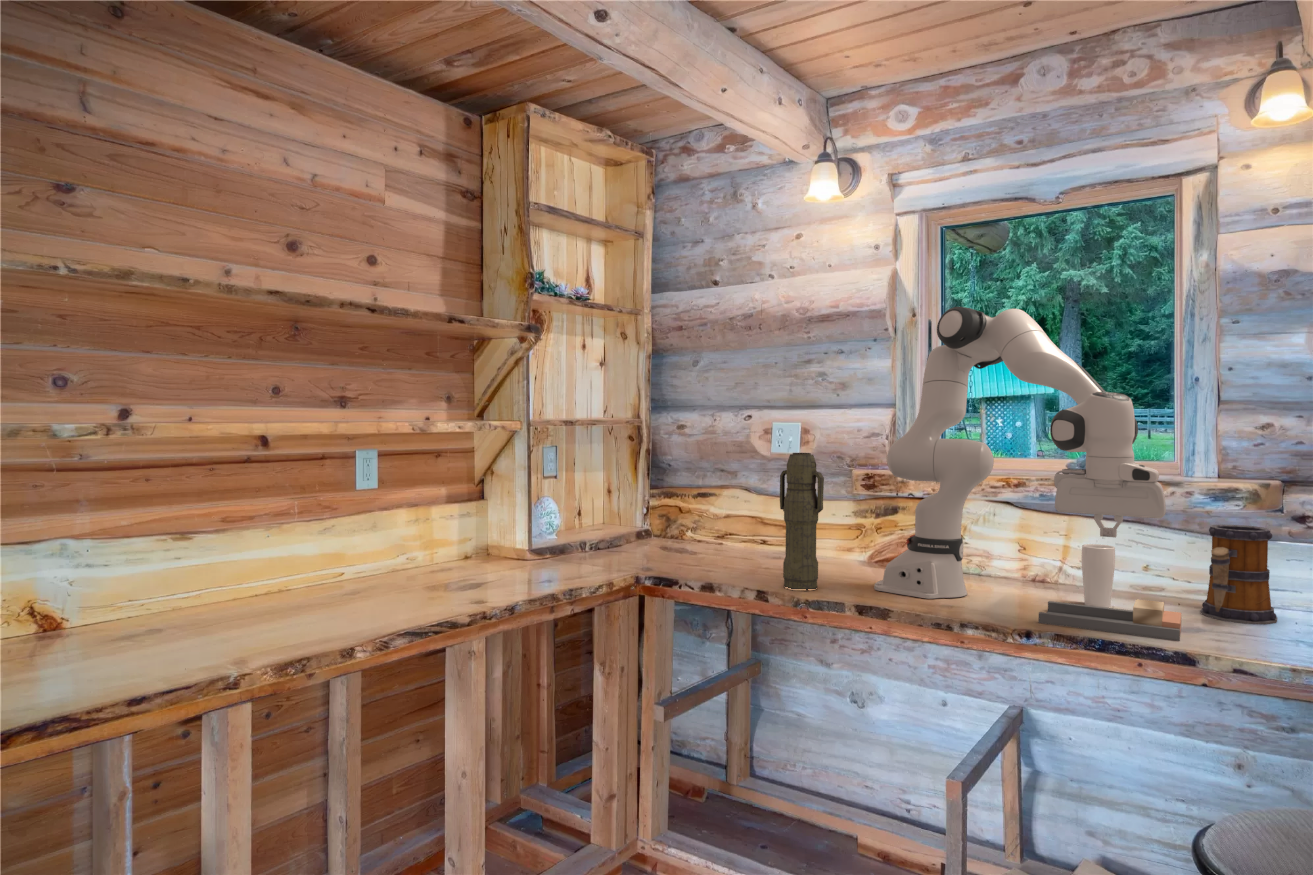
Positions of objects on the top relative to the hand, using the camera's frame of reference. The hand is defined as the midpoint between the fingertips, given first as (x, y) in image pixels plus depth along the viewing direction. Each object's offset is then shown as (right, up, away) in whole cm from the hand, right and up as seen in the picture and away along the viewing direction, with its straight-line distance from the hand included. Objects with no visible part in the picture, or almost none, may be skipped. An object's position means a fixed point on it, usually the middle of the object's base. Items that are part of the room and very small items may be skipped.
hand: (1108, 536), depth 173 cm
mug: (+34, -20, +12) cm, 41 cm away
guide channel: (0, -20, 0) cm, 20 cm away
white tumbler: (+7, -19, +18) cm, 27 cm away
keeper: (+6, -18, -4) cm, 20 cm away
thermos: (-57, -19, +43) cm, 73 cm away
